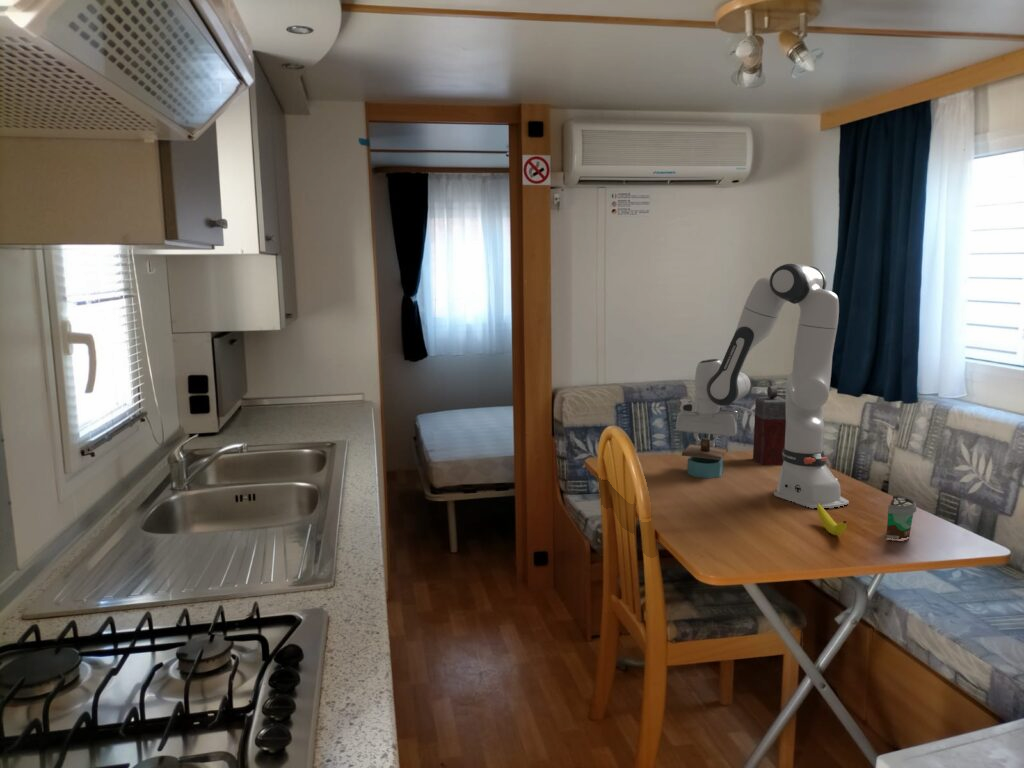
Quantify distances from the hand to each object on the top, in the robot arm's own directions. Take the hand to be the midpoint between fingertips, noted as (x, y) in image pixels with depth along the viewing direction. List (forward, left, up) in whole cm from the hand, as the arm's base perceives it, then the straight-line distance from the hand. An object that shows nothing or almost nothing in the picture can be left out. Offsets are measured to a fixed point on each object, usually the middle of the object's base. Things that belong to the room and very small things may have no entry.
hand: (705, 445), depth 258 cm
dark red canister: (+6, -31, -10) cm, 33 cm away
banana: (-60, -3, -10) cm, 61 cm away
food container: (-69, -18, -10) cm, 72 cm away
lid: (0, 0, -3) cm, 3 cm away
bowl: (0, 0, -10) cm, 10 cm away
